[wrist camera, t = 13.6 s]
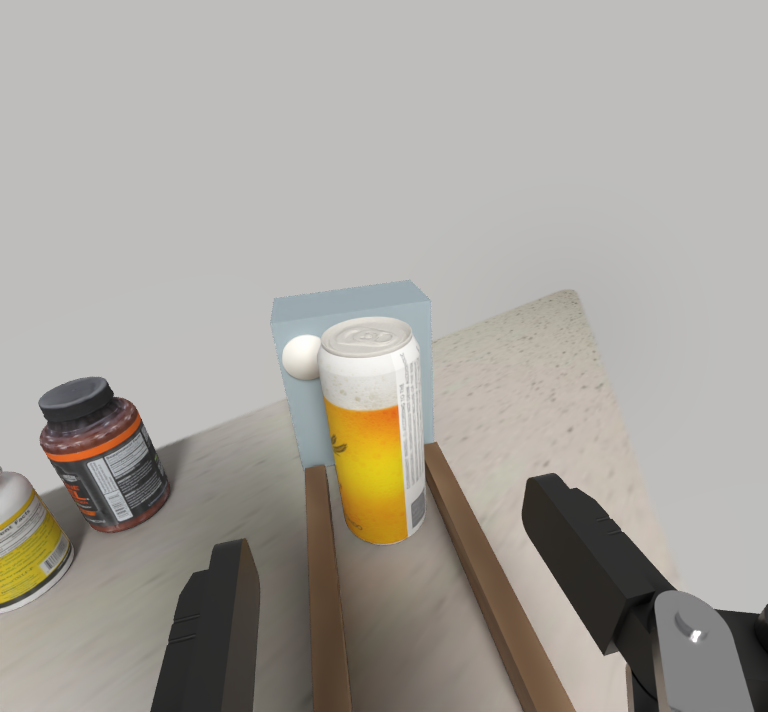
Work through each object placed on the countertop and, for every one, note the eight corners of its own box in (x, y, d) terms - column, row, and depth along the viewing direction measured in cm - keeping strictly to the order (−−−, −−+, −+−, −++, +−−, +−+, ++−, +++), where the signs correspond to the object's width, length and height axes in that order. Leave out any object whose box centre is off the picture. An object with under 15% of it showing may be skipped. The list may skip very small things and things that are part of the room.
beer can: (369, 477, 33) (348, 310, 26) (438, 498, 30) (434, 319, 23) (330, 534, 28) (291, 348, 21) (407, 565, 25) (391, 364, 19)
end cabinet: (303, 474, 34) (269, 326, 27) (302, 430, 39) (274, 298, 33) (435, 448, 35) (432, 302, 29) (416, 408, 41) (410, 279, 35)
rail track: (324, 827, 16) (316, 810, 15) (308, 486, 32) (304, 468, 31) (574, 743, 17) (581, 722, 16) (436, 459, 34) (436, 441, 33)
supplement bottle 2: (77, 516, 31) (4, 399, 26) (150, 470, 36) (99, 362, 31) (111, 550, 28) (36, 425, 23) (186, 495, 33) (137, 379, 27)
